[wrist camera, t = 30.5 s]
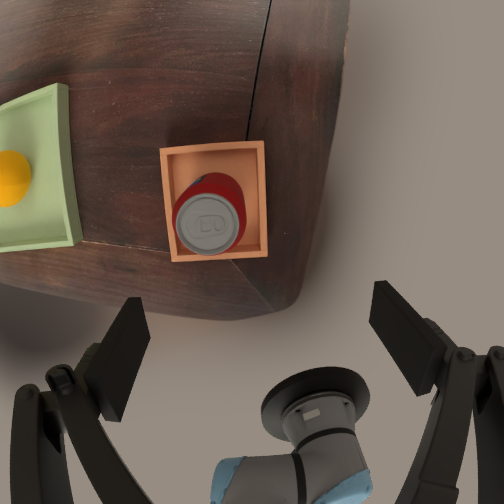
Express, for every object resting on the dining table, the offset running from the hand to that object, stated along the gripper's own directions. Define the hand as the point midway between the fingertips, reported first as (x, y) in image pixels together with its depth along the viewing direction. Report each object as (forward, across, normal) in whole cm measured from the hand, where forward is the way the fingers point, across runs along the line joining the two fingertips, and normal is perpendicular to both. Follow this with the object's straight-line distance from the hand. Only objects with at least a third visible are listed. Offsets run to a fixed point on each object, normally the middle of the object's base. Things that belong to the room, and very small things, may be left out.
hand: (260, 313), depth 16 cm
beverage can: (+23, -4, +2) cm, 23 cm away
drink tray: (+23, -4, +2) cm, 23 cm away
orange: (+22, -32, +9) cm, 41 cm away
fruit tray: (+23, -32, +10) cm, 41 cm away
